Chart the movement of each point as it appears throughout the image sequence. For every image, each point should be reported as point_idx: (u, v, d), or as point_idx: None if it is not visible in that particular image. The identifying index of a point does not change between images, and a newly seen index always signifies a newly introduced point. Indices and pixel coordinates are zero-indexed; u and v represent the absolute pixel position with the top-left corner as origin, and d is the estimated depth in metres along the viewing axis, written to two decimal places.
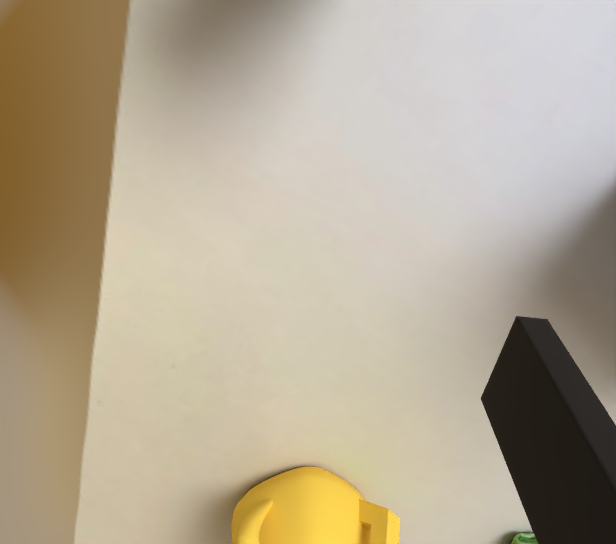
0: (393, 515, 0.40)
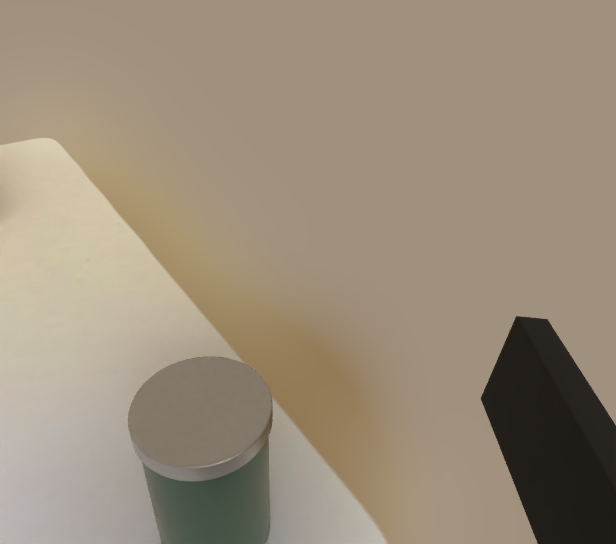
0: None
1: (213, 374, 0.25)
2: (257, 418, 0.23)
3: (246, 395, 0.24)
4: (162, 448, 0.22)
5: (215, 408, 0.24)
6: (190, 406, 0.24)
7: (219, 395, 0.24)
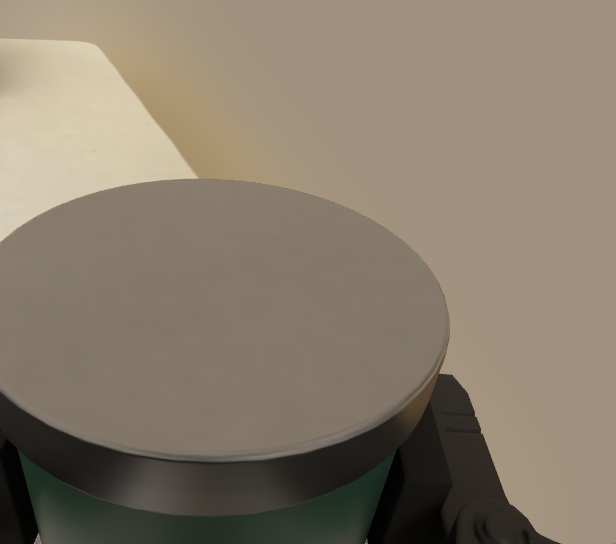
0: None
1: (271, 213, 0.09)
2: (407, 331, 0.07)
3: (366, 269, 0.08)
4: (55, 359, 0.06)
5: (269, 282, 0.07)
6: (192, 264, 0.07)
7: (286, 256, 0.08)
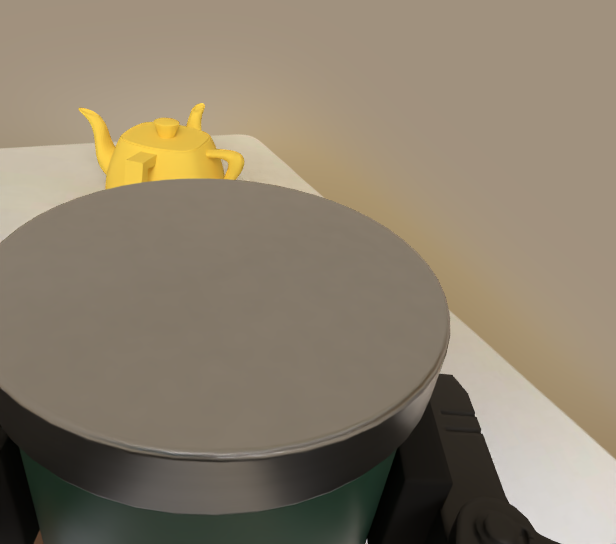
0: None
1: (272, 213, 0.09)
2: (408, 330, 0.07)
3: (366, 269, 0.08)
4: (57, 357, 0.06)
5: (270, 281, 0.07)
6: (193, 263, 0.07)
7: (287, 255, 0.08)
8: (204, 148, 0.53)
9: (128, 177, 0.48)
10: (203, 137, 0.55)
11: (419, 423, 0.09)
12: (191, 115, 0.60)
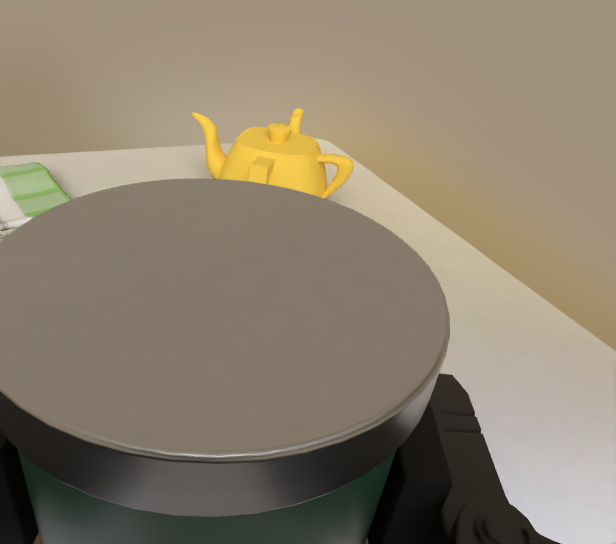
0: None
1: (271, 213, 0.09)
2: (407, 331, 0.07)
3: (366, 269, 0.08)
4: (55, 358, 0.06)
5: (269, 282, 0.07)
6: (192, 263, 0.07)
7: (286, 256, 0.08)
8: (315, 153, 0.55)
9: (252, 181, 0.50)
10: (311, 142, 0.56)
11: (419, 423, 0.09)
12: (291, 120, 0.61)
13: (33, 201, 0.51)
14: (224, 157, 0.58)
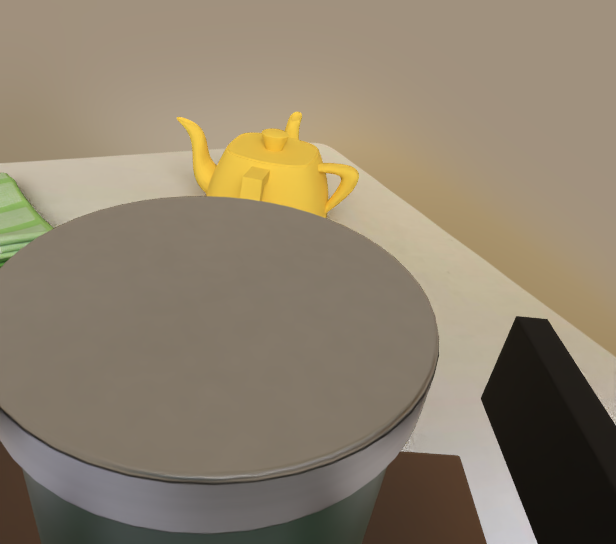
0: None
1: (268, 231, 0.09)
2: (398, 351, 0.07)
3: (359, 288, 0.08)
4: (58, 381, 0.06)
5: (265, 302, 0.08)
6: (190, 284, 0.08)
7: (281, 275, 0.08)
8: (316, 163, 0.49)
9: (244, 195, 0.44)
10: (311, 150, 0.50)
11: None
12: (289, 125, 0.55)
13: None
14: (214, 166, 0.52)
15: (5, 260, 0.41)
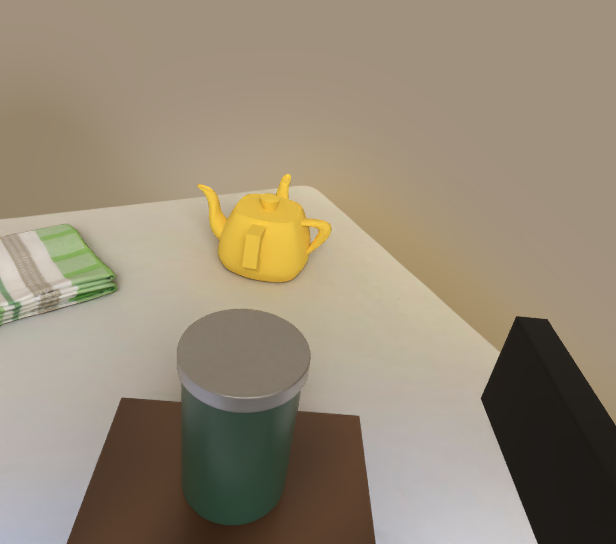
0: (249, 267, 0.62)
1: (259, 325, 0.27)
2: (295, 367, 0.25)
3: (287, 347, 0.26)
4: (205, 376, 0.23)
5: (257, 352, 0.25)
6: (235, 347, 0.25)
7: (263, 343, 0.26)
8: (300, 219, 0.66)
9: (247, 247, 0.61)
10: (297, 208, 0.68)
11: None
12: (281, 185, 0.73)
13: (69, 262, 0.63)
14: (224, 219, 0.69)
15: (80, 294, 0.59)
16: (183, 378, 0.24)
